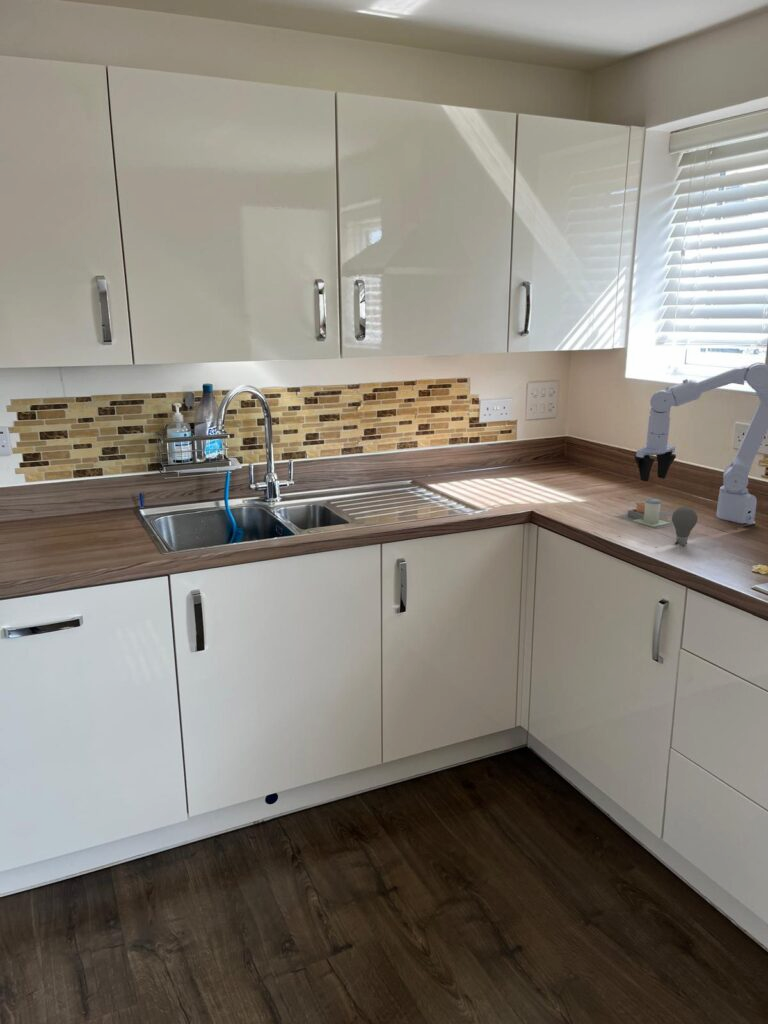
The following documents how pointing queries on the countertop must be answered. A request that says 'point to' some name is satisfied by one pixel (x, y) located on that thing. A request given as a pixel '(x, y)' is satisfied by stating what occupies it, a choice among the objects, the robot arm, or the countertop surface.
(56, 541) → the countertop surface
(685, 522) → the light bulb
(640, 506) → the orange round piece
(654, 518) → the cartridge
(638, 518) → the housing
